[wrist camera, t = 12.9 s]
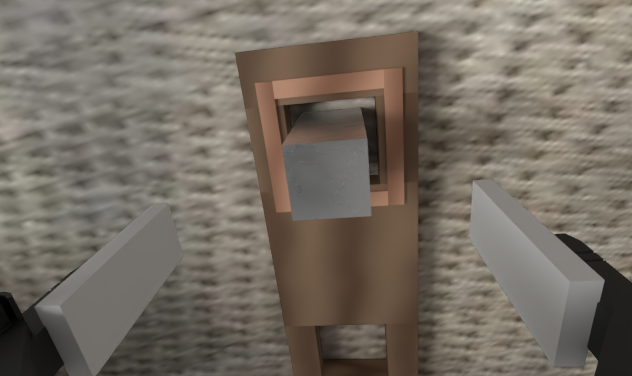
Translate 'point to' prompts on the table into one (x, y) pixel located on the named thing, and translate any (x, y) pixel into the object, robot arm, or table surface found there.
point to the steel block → (328, 165)
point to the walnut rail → (342, 233)
